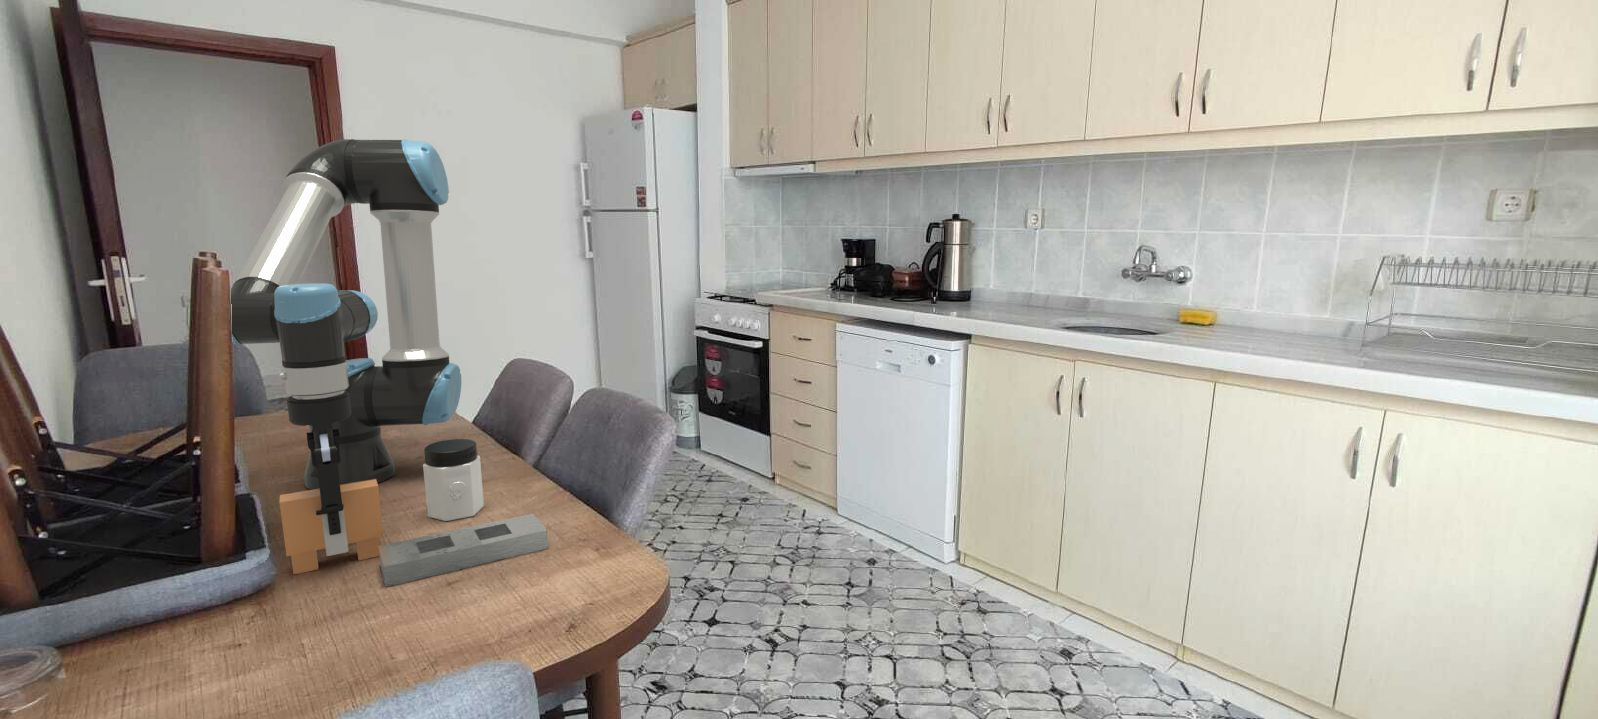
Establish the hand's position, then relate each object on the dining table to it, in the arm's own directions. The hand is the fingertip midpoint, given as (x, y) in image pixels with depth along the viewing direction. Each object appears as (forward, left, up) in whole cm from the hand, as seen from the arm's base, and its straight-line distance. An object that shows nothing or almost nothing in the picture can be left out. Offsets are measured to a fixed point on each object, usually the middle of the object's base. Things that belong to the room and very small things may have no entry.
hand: (336, 547), depth 108 cm
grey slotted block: (+9, +16, -2) cm, 19 cm away
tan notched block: (0, 0, -2) cm, 2 cm away
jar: (-11, +18, -2) cm, 21 cm away
